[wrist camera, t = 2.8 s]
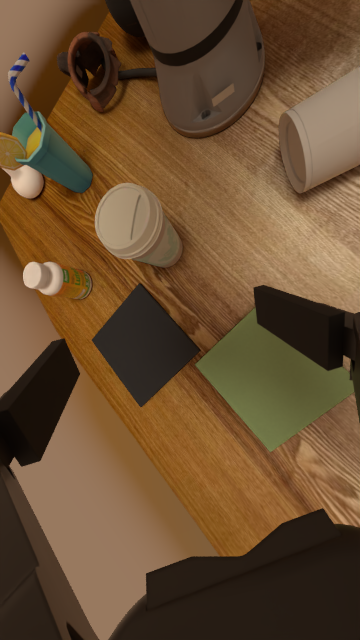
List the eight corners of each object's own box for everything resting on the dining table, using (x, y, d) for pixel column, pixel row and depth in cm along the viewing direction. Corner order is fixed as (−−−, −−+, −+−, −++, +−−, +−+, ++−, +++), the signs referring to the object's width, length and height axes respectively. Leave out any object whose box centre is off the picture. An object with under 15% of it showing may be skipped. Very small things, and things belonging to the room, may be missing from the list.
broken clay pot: (133, 51, 40) (112, 19, 33) (133, 120, 44) (115, 105, 37) (71, 48, 41) (38, 17, 34) (77, 116, 46) (50, 101, 39)
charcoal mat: (93, 339, 41) (91, 340, 41) (141, 283, 38) (139, 283, 37) (142, 406, 37) (140, 407, 37) (200, 350, 34) (199, 350, 33)
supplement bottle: (97, 288, 41) (49, 278, 32) (78, 305, 43) (27, 299, 34) (85, 265, 42) (35, 249, 33) (67, 282, 44) (15, 271, 35)
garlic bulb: (22, 189, 49) (-22, 166, 42) (36, 165, 48) (-6, 136, 40) (34, 207, 48) (-9, 185, 40) (50, 182, 46) (8, 155, 39)
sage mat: (195, 364, 34) (194, 364, 33) (266, 297, 30) (266, 296, 30) (270, 449, 30) (270, 452, 29) (361, 384, 26) (363, 385, 26)
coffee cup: (166, 286, 36) (120, 269, 25) (134, 254, 38) (79, 225, 27) (202, 244, 34) (170, 205, 23) (165, 213, 36) (120, 163, 25)
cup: (90, 132, 43) (3, 39, 29) (116, 148, 40) (35, 55, 26) (56, 198, 46) (-38, 143, 32) (78, 217, 43) (-13, 165, 29)
